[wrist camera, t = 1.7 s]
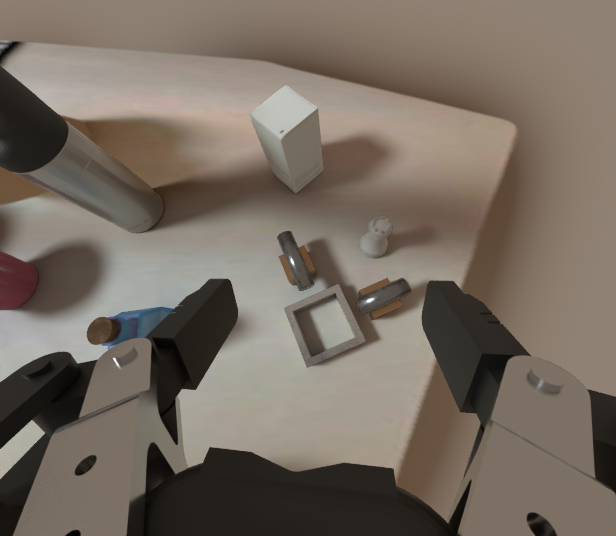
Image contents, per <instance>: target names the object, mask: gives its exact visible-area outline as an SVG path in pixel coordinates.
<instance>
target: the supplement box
mask: <svg viewBox="0 0 616 536" xmlns="http://www.w3.org/2000/svg"><path fill="white" fill-rule="evenodd" d="M249 115H250V117H251V120H252V123H253V125H254V128H255V130H256V133H257V135H258V138H259V140H260V143H261V145H262V148H263V150H264V153H265V155H266V158H267V160H268V163H269V165H270V168H271V170H272V173H273V174H274V175H275V176H277V177H278V178H279V179H280V180H281V181H282V182H283V183H284V184H285V185H286V186H288V187H289V188H290V189H291V190H292V191H293V192H294V193H295V194H296V193H297V192H299V191H300V190H301V189H302V188H303V187H305V186H306V185H307V184H308V183H309V182H310V181H312V180H313V179H314V178H315V177H316V176H317V175H319V174H320V173H321V172H322V171H323V170H324V168H323V157H322V147H321V136H320V125H319V115H318V108H317V107H316V106H315V105H313V104H312V103H310V102H309V101H307V100H306V99H305V98H303V97H302V96H301V95H299V94H298V93H296V92H295V91H294V90H292V89H291V88H289V87H288V86H287V85H285V86H284V87H282V88H281V89H280V90H278V91H277V92H276V93H275V94H273V95H272V96H271V97H270V98H268V99H267V100H266V101H265V102H263V103H262V104H261V105H260V106H258V107H257V108H256V109H255V110H253V111H252V112H251V113H249Z"/></svg>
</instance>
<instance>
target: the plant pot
mask: <svg viewBox="0 0 616 536" xmlns="http://www.w3.org/2000/svg"><path fill="white" fill-rule="evenodd" d="M37 283H38V273H37V270H36V269H35V267H34V266H32V265H30V264H28V263H26V262H24V261H22V260H19V259H17V258H15V257H13V256H11V255H8V254H6V253H4V252H2V251H0V310H10V309H14V308H17V307H19V306H20V305H22V304H23V303H25V302H26V301H27V300H28V299H29V298H30V297H31V295H32V294H33V292H34V291H35V289H36V286H37Z"/></svg>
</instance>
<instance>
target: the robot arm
mask: <svg viewBox="0 0 616 536" xmlns="http://www.w3.org/2000/svg"><path fill="white" fill-rule="evenodd" d="M0 166H1V167H2V168H5V169H6V170H8V171H11V172H13V173H14V174H17V175H19V176H20V177H22V178H24V179H26V180H28V181H30V182H32V183H34V184H36V185H38V186H40V187H42V188H44V189H46V190H48V191H50V192H52V193H54V194H56V195H58V196H60V197H62V198H64V199H66V200H68V201H70V202H72V203H74V204H76V205H78V206H80V207H82V208H84V209H85V210H87V211H89V212H91V213H93V214H95V215H97V216H99V217H101V218H103V219H105V220H107V221H109V222H111V223H113V224H115V225H117V226H119V227H121V228H123V229H125V230H127V231H129V232H132V233H140V232H144V231H146V230H148V229H150V228H152V227H153V226H154V225H155V224H156V223H157V222H158V221H159V219H160V218H161V216H162V213H163V210H164V203H163V200H162V198H161V196H160V195H158V194H157V193H156V192H155V191H154V190H153V189H152V187H150V186H149V185H148V184H147V183H145V182H144V181H143V180H142V179H140V178H139V177H138V176H137V175H135V174H134V173H133V172H132V171H130V170H129V169H128V168H127V167H125V166H124V165H123V164H122V163H121V162H119V161H118V160H117V159H116V158H114V157H113V156H112V155H110V154H107V153H106V152H105V151H103V150H102V149H101V148H100V147H98V146H97V145H96V144H95V143H93V142H92V141H91V140H90V139H88V138H87V137H86V136H85V135H83V134H82V133H81V132H79V131H78V130H77V129H76V128H74V127H73V126H72V125H71V124H69V123H68V122H67V121H66V120H64V119H63V118H62V117H61V116H60V115H58V114H57V113H56V112H55V111H53V110H52V109H51V108H50V107H49V106H47V105H46V104H45V103H44V102H43V101H42V100H41V99H39V98H38V97H37V96H36V95H35V94H34V93H33V92H31V91H30V90H29V89H28V88H27V87H25V86H24V85H23V84H22V83H21V82H19V81H18V80H17V79H16V78H15V77H13V76H12V75H11V74H10V73H8V72H7V71H6V70H5V69H4V68H2V67H1V66H0ZM237 318H238V308H237V304H236V300H235V296H234V292H233V288H232V284H231V281H230V280H229V279H209V280H208V281H207V282H206V283H205V284H204V285H203V286H202V287H201V288H200V289H199V290H197V291H196V292H194V293H192V294H191V295H189V296H187V297H186V298H185V299H184V300H183V301H182V302H181V303H180V304H179V305H178V307H176V308H175V309H174V310H172V311H171V313H169V314H168V315H167V316H166V317H165V318H164V319H163V320H162V321H161V322H160V323H159V324H158V325H157V326H156V327H155V328H154V329H153V330H152V331H151V332H150V333H149V334H148V335H147V336H146V337H145V338H134V339H130V340H127V341H124V342H122V343H120V344H117V345H116V346H114V347H112V348H111V349H109V350H108V351H107V352H105V353H104V354H103V355H102V356H101V357H100V358H99V359H98V360H94V361H89V362H84V363H79V364H77V362H76V361H75V360H74V358H73V357H72V355H71V354H70V353H68V352H56V353H52V354H48V355H45V356H43V357H40V358H38V359H36V360H34V361H32V362H30V363H28V364H26V365H24V366H23V367H21V368H20V369H18V370H17V371H15V372H14V373H13V374H11V375H10V376H8V377H7V378H6V379H4V380H3V381H2V382H0V449H1V448H2V447H3V446H4V445H5V444H6V443H7V442H8V441H9V440H10V439H12V438H13V437H14V436H15V435H16V434H17V433H18V432H19V431H20V430H21V429H22V428H23V427H24V426H26V425H27V424H28V423H29V422H30V421H31V420H33V421H34V422H35V423H36V424H37V425H38V426H39V427H40V428H41V429H42V430H43V431H44V432H45V434H44V435H43V436H42V437H41V438H40V439H39V440H38V441H37V442H36V443H35V444H34V445H33V446H32V447H31V448H30V450H29V451H28V452H27V453H26V454H25V455H24V456H23V457H22V458H21V459H20V460H19V461H18V462H17V463H16V464H15V465H14V466H13V467H12V468H11V469H10V470H9V471H8V472H7V473H6V474H5V475H4V476H3V477H2V478H1V479H0V536H616V397H614V396H611V395H607V394H603V393H599V392H596V391H592V390H588V389H586V388H585V386H584V385H583V384H582V383H581V382H580V381H579V380H578V379H577V378H576V377H575V376H573V375H572V374H571V373H569V372H568V371H566V370H565V369H563V368H561V367H559V366H557V365H555V364H553V363H551V362H549V361H546V360H543V359H540V358H536V357H532V356H531V355H530V354H529V353H528V352H527V351H526V350H525V349H524V348H523V346H522V345H521V344H520V343H519V342H518V341H517V340H516V339H515V338H514V336H513V335H512V334H511V333H510V332H509V331H508V330H507V329H506V328H505V327H504V326H503V324H500V321H499V320H498V319H497V318H496V317H495V315H492V312H491V311H490V310H489V309H488V308H487V307H486V306H485V304H483V302H481V301H479V300H478V299H476V298H474V297H473V296H471V295H469V294H464V293H463V292H462V291H461V290H460V288H459V287H458V286H457V285H456V284H455V282H453V281H429V283H428V285H427V290H426V295H425V301H424V306H423V311H422V326H423V329H424V332H425V334H426V336H427V339H428V341H429V343H430V345H431V348H432V350H433V352H434V354H435V356H436V359H437V361H438V363H439V365H440V368H441V370H442V372H443V374H444V377H445V379H446V381H447V383H448V386H449V388H450V390H451V392H452V395H453V397H454V399H455V401H456V404H457V405H458V408H459V410H460V412H466V413H476V414H477V416H478V418H479V420H480V425H479V427H478V429H477V433H476V436H475V439H474V442H473V445H472V448H471V451H470V454H469V457H468V460H467V463H466V466H465V469H464V472H463V476H462V479H461V482H460V485H459V487H458V490H457V493H456V495H455V498H454V500H453V503H452V506H451V508H450V511H449V514H448V517H447V520H446V521H445V520H444V519H443V518H442V517H441V516H440V515H439V514H438V513H437V512H435V511H434V510H433V509H432V508H431V507H430V506H428V505H427V504H426V503H424V502H423V501H422V500H421V499H419V498H418V497H416V496H415V495H413V494H411V493H410V492H408V491H406V490H405V489H402V488H400V487H398V486H396V482H395V476H394V470H393V468H385V467H376V466H367V465H359V464H350V463H341V464H336V465H331V466H326V467H321V468H316V469H311V470H306V471H301V472H292V471H289V470H287V469H285V468H283V467H281V466H279V465H277V464H275V463H273V462H271V461H269V460H267V459H264V458H262V457H260V456H258V455H256V454H254V453H252V452H246V451H238V450H229V449H220V448H212V447H210V448H209V450H208V452H207V455H206V457H205V459H204V462H203V463H201V464H198V465H195V466H192V467H189V468H188V466H187V462H186V459H185V455H184V448H183V436H182V424H181V413H180V402H179V398H178V396H177V395H178V394H179V392H180V391H181V389H190V390H196V388H197V387H198V385H199V383H200V382H201V380H202V378H203V377H204V375H205V373H206V372H207V370H208V368H209V367H210V365H211V363H212V362H213V360H214V358H215V357H216V355H217V353H218V352H219V350H220V348H221V347H222V345H223V343H224V342H225V340H226V338H227V337H228V335H229V333H230V332H231V330H232V328H233V327H234V325H235V323H236V321H237Z"/></svg>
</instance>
